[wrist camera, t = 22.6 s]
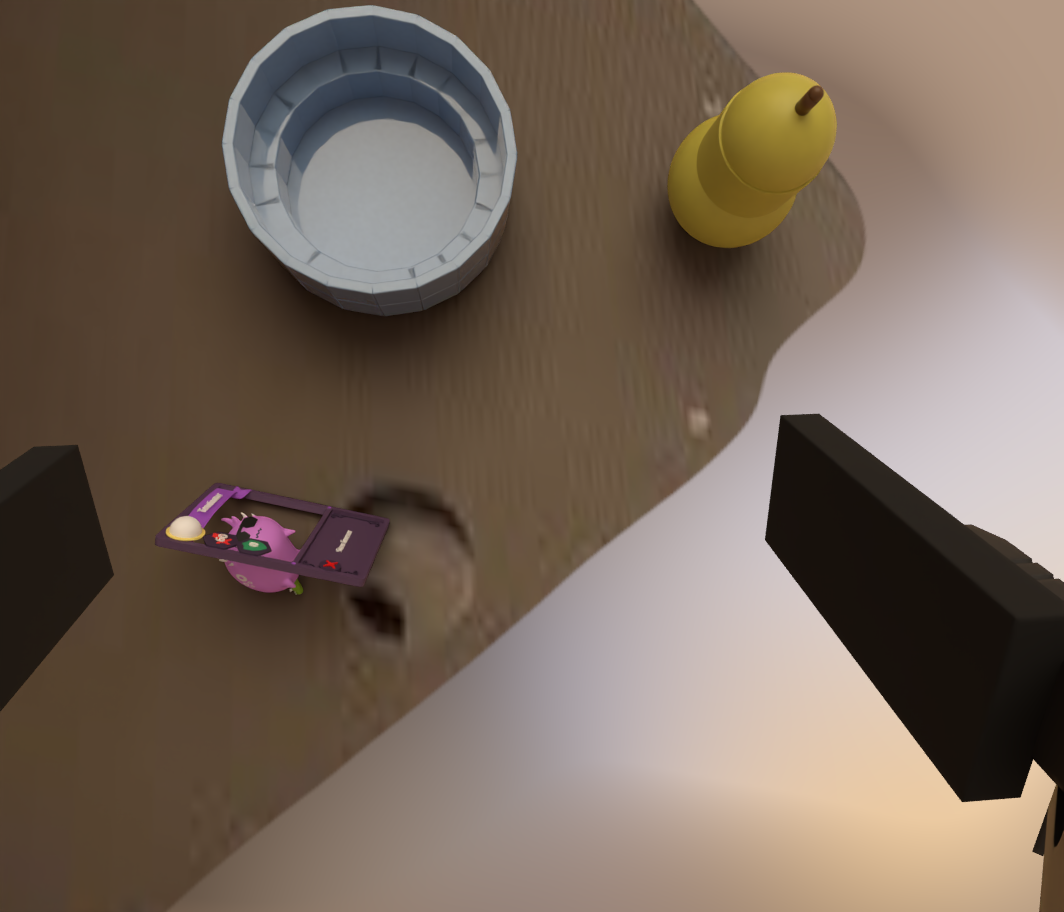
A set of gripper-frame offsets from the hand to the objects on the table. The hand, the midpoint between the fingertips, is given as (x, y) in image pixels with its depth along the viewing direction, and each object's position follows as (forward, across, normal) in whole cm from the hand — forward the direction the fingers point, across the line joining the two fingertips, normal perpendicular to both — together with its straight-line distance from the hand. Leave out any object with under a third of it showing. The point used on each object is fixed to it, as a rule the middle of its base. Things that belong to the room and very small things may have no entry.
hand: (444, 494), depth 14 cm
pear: (+29, +14, +3) cm, 32 cm away
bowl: (+28, -4, +4) cm, 29 cm away
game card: (+21, -9, -13) cm, 26 cm away
